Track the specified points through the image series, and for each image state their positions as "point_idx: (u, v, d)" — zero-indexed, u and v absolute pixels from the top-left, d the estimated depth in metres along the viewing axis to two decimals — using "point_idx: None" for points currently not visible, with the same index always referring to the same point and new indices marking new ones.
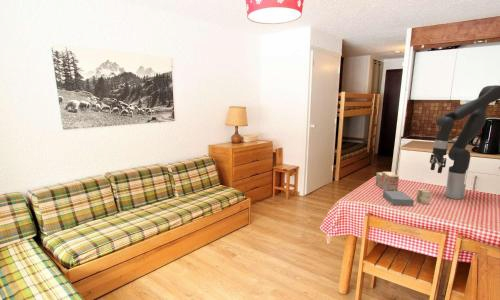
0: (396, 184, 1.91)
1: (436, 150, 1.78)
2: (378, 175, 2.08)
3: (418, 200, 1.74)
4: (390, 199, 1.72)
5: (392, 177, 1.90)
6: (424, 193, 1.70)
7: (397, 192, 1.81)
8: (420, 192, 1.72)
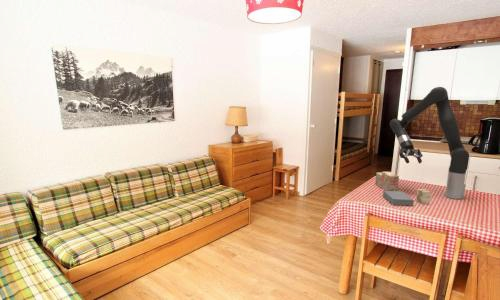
0: (396, 184, 1.91)
1: None
2: (378, 175, 2.08)
3: (418, 200, 1.74)
4: (390, 199, 1.72)
5: (392, 177, 1.90)
6: (424, 193, 1.70)
7: (397, 192, 1.81)
8: (420, 192, 1.72)
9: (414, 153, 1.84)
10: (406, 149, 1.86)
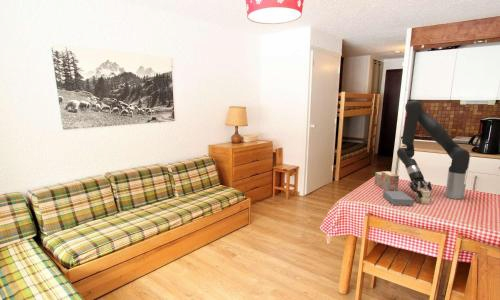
0: (396, 183, 1.92)
1: None
2: (377, 175, 2.09)
3: (418, 200, 1.74)
4: (390, 199, 1.72)
5: (392, 177, 1.91)
6: (424, 193, 1.70)
7: (397, 192, 1.81)
8: None
9: (424, 185, 1.75)
10: (416, 181, 1.76)
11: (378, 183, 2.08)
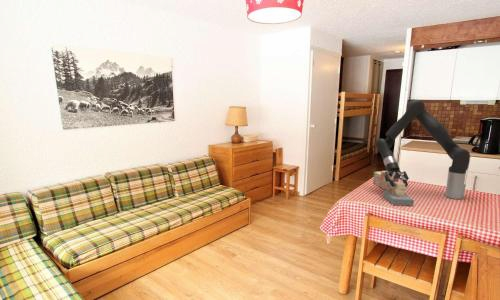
0: None
1: None
2: (376, 174, 2.10)
3: (393, 192, 1.76)
4: (390, 199, 1.72)
5: None
6: (399, 185, 1.72)
7: None
8: (395, 184, 1.74)
9: None
10: (392, 171, 1.78)
11: (377, 183, 2.09)
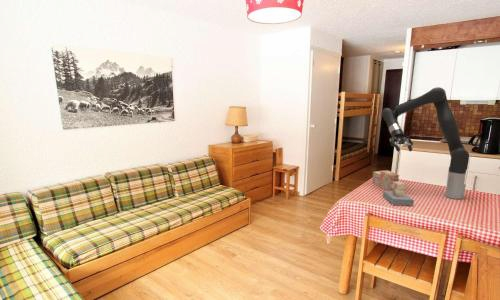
0: None
1: None
2: (375, 174, 2.11)
3: (393, 192, 1.76)
4: (390, 199, 1.72)
5: (393, 176, 1.93)
6: (399, 185, 1.72)
7: None
8: (395, 184, 1.74)
9: (405, 141, 1.86)
10: (397, 137, 1.87)
11: (377, 182, 2.10)
